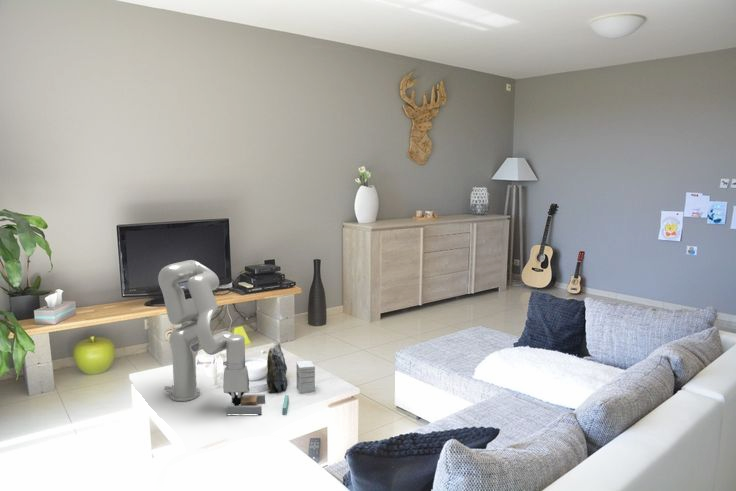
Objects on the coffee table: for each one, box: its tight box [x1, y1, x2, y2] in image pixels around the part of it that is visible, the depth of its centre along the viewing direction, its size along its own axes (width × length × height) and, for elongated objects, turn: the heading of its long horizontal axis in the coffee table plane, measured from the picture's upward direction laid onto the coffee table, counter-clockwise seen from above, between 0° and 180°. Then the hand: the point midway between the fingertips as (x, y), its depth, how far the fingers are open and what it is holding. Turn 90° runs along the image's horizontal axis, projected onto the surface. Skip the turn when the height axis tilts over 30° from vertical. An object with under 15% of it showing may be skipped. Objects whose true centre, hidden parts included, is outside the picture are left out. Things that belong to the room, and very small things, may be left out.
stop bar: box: [281, 394, 290, 416], centre depth 220 cm, size 2×12×3 cm, turn 4°
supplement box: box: [296, 360, 316, 394], centre depth 238 cm, size 7×7×13 cm
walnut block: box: [240, 395, 259, 406], centre depth 219 cm, size 6×6×4 cm
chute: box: [226, 393, 266, 415], centre depth 219 cm, size 14×12×4 cm
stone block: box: [266, 341, 288, 394], centre depth 241 cm, size 18×9×20 cm, turn 3°
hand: (236, 405), depth 219 cm, fingers closed
